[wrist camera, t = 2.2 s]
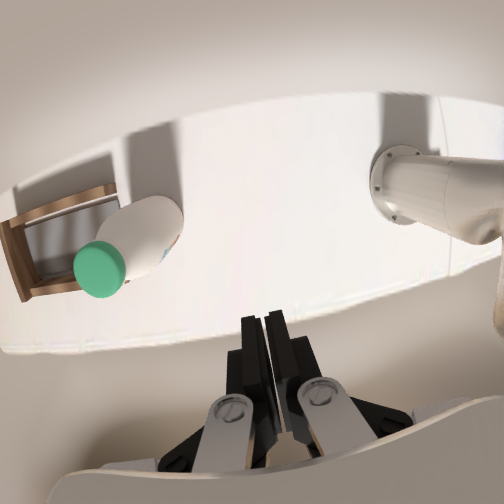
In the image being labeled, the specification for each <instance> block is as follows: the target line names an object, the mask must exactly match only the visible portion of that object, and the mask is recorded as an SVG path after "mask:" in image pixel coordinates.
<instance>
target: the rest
mask: <svg viewBox="0 0 504 504" xmlns="http://www.w3.org/2000/svg"><path fill="white" fill-rule="evenodd" d="M114 193H117V191H116V186H115V183H112V184H107V185H102V186H99V187H96V188H93V189H89V190H86V191H83V192H80V193H77V194H74V195H71V196H68V197H66V198H63V199H60V200H57V201H54V202H52V203H49V204H46V205H44V206H41V207H39V208H36V209H33V210H31V211H28V212H26V213H24V214H21V215H19V216H16V217H14V218H12V219H9V220H7V221H4V222H2V223H0V239H1V243H2V246H3V250H4V253H5V257H6V260H7V263H8V266H9V269H10V272H11V275H12V278H13V281H14V284H15V286H16V289H17V292H18V294H19V297H20V299H21V302H27V301H28V300H29V299H31V298H32V297H35V296H42V295H49V294H56V293H63V292H70V291H77V290H83V289H82V288H81V286H80V285H79V284H78V282H77V280H76V278H75V275H74V274H72V275H67V276H62V277H56V278H51V279H45V280H41V278H40V276H42V275H47V274H52V273H57V272H62V271H67V270H72V269H73V263H74V259H75V256H76V254H77V252H78V251H79V250H80V249H81V248H82V247H83V246H85V245H86V244H88V243H90V242H91V241H93V240H95V239H96V236H97V233H98V230H99V228H100V227H101V225H102V223H103V222H104V221H105V220H106V219H107V218H108V217H109V216H110V215H111V214H112V213H114V212H115V211H117V210H119V209H120V205H119V201H118V199H117V200H114V201H110V202H106V203H103V204H99V205H96V206H92V207H89V208H86V209H82V210H79V211H76V212H72V213H69V214H66V215H63V216H60V217H57V218H54V219H51V220H48V221H45V222H42V223H39V224H36V225H33V226H31V227H28V228H25V224H24V223H26V222H28V221H31V220H34V219H36V218H39V217H42V216H45V215H47V214H50V213H53V212H56V211H59V210H62V209H65V208H68V207H71V206H74V205H77V204H80V203H84V202H87V201H90V200H94V199H97V198H100V197H104V196H107V195H111V194H114ZM129 281H130V280H126V281H125V282H124V283H128V282H129Z"/></svg>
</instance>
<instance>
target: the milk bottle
mask: <svg viewBox="0 0 504 504" xmlns="http://www.w3.org/2000/svg"><path fill="white" fill-rule="evenodd" d="M182 230H183V215H182V212H181V210H180V208H179V207H178V205H177V204H176V203H175V202H174V201H172V200H171V199H169V198H167V197H165V196H161V195H154V196H149V197H146V198H144V199H141V200H139V201H136V202H134V203H132V204H129V205H127V206H125V207H123V208H121V209H119V210H117V211H115V212H114V213H112V214H111V215H110V216H109V217H108V218H107V219H106V220H105V221H104V222H103V223H102V225H101V227H100V228H99V230H98V233H97V236H96V239H95V240H93V241H91V242H90V243H88V244H86V245H85V246H83V247H82V248H81V249H80V250H79V251H78V252H77V254H76V256H75V259H74V263H73V269H74V275H75V278H76V280H77V282H78V284H79V285H80V286H81V288H82V289H83V290H84V291H85V292H87V293H88V294H90V295H91V296H94V297H97V298H106V297H109V296H111V295H113V294H114V293H115V292H116V291H117V290H118V289H119V288H120V287H121V286H122V285H123V283H124V282H125V281H126V280H134V279H138V278H141V277H143V276H145V275H147V274H148V273H150V272H151V271H152V270H154V269H155V268H156V267H157V266H158V264H159V263H160V262H161V261H162V260H163V258H164V257H165V256H166V255H167V253H168V252H169V251H170V249H171V248H172V247H173V245H174V244H175V243H176V241H177V240H178V239H179V237H180V235H181V233H182Z"/></svg>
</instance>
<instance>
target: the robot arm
mask: <svg viewBox="0 0 504 504" xmlns="http://www.w3.org/2000/svg"><path fill="white" fill-rule="evenodd" d="M387 155H388V156H387ZM375 187H376V189H375ZM370 190H371V195H372V199H373V202H374V204H375V206H376V208H377V210H378V211H379V212H380V214H381V215H382V216H383V217H384V218H386V219H387V220H388V221H391V222H393V223H395V224H398V225H410V224H413V223H415V222H419V223H422V224H424V225H427V226H429V227H432V228H434V229H436V230H439V231H441V232H443V233H446V234H448V235H450V236H453V237H455V238H457V239H460V240H462V241H464V242H467V243H469V244H473V245H483V244H487V243H490V242H492V241H494V240H496V239H497V238H499V237H500V236H502V253H501V256H502V260H501V268H500V276H499V282H498V288H497V293H496V299H495V305H494V311H493V322H494V328H495V331H496V333H497V335H498V336H499V338H500V339H501V340H502V341H503V342H504V160H489V159H476V158H463V157H448V156H427V155H424V154H423V153H422V152H421V151H419V150H418V149H416V148H414V147H411V146H408V145H397V146H393V147H390V148H388V149H387V150H385V151H384V152H383V153H382V154H381V155H380V156H379V157H378V159H377V160H376V162H375V164H374V166H373V169H372V173H371V179H370ZM392 216H393V217H392ZM264 319H265V325H266V331H267V336H268V342H269V349H270V354H271V360H272V366H273V373H274V378H275V383H276V388H277V392H278V397H279V400H280V405H281V409H282V414H283V418H284V422H285V426H286V431H287V432H290V431H293V436H294V439H295V440H297V441H299V442H301V443H304V444H305V447H306V450H307V452H308V454H309V456H310V459H309V460H305V461H300V462H295V463H290V464H285V465H278V466H272V467H269V457H270V453H269V449H270V448H271V447H272V446H273V445H274V444H275V443H276V442H277V441H278V438H277V434H279V433H282V428H281V422H280V416H279V410H278V403H277V397H276V391H275V385H274V378H273V373H272V367H271V363H270V358H269V354H268V350H267V345H266V341H265V337H264V333H263V328H262V323H261V319H260V318H255V316H254V315H253V316H248V317H242V318H241V332H242V349H239V350H233V351H228V356H227V382H226V395H225V396H222V397H220V398H219V399H217V400H216V401H215V402H214V403H213V404H212V405H211V407H210V409H209V413H208V417H207V420H206V423H205V426H203V427H202V428H201V429H199V430H198V431H197V432H195V433H194V434H193V435H191V436H190V437H189V438H188V439H186V440H185V441H184V442H182V443H181V444H179V445H178V446H177V447H175V448H174V449H173V450H171V451H170V452H168V453H167V454H166V455H165V456H163V457H162V458H161V460H156V459H155V458H151V459H144V460H136V461H127V462H117V463H109V464H105V465H104V466H102V467H101V468H100V469H90V470H83V471H77V472H73V473H70V474H67V475H65V476H63V477H62V478H60V479H59V480H58V481H57V483H56V484H55V485H54V487H53V489H52V490H51V492H50V494H49V496H48V498H47V501H46V503H45V504H504V396H503V395H496V396H489V397H484V398H479V399H475V400H473V399H471V398H468V397H458V398H455V399H452V400H448V401H445V402H441V403H438V404H434V405H430V406H426V407H422V408H418V409H414V410H413V412H412V413H408V414H406V413H405V412H402V411H400V410H396V409H392V408H388V407H384V406H380V405H377V404H373V403H370V402H366V401H363V400H359V399H356V398H353V397H350V396H348V394H347V393H346V391H345V390H344V388H343V387H342V385H341V384H340V383H339V382H338V381H336V380H334V379H332V378H328V377H322V375H321V372H320V369H319V366H318V364H317V361H316V359H315V356H314V353H313V350H312V348H311V345H310V342H309V340H308V338H307V336H303V337H298V338H294V339H290V337H289V334H288V330H287V327H286V323H285V320H284V316H283V313H282V310H277V311H272V312H269V316H265V317H264Z"/></svg>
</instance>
